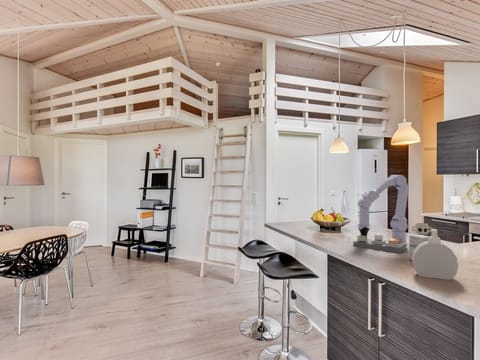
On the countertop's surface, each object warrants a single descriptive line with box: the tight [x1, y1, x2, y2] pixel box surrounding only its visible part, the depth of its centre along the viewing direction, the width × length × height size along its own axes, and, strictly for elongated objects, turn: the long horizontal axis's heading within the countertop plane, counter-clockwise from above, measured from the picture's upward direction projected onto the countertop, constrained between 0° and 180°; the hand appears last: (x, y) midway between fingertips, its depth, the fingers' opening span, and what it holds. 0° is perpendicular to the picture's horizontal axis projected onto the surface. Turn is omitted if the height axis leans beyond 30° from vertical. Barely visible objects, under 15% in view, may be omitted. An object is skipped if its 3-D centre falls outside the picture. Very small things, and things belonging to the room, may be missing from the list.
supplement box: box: [408, 233, 430, 261], centre depth 152 cm, size 7×7×13 cm
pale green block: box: [356, 234, 368, 241], centre depth 185 cm, size 3×5×3 cm, turn 48°
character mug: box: [411, 222, 433, 236], centre depth 191 cm, size 11×7×13 cm, turn 69°
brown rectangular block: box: [387, 237, 402, 244], centre depth 175 cm, size 10×5×3 cm, turn 138°
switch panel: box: [352, 238, 407, 254], centre depth 181 cm, size 14×26×4 cm, turn 48°
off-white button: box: [374, 233, 384, 240], centre depth 181 cm, size 4×4×3 cm
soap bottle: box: [411, 228, 459, 281], centre depth 127 cm, size 16×5×20 cm, turn 67°
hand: (363, 239), depth 187 cm, fingers closed
